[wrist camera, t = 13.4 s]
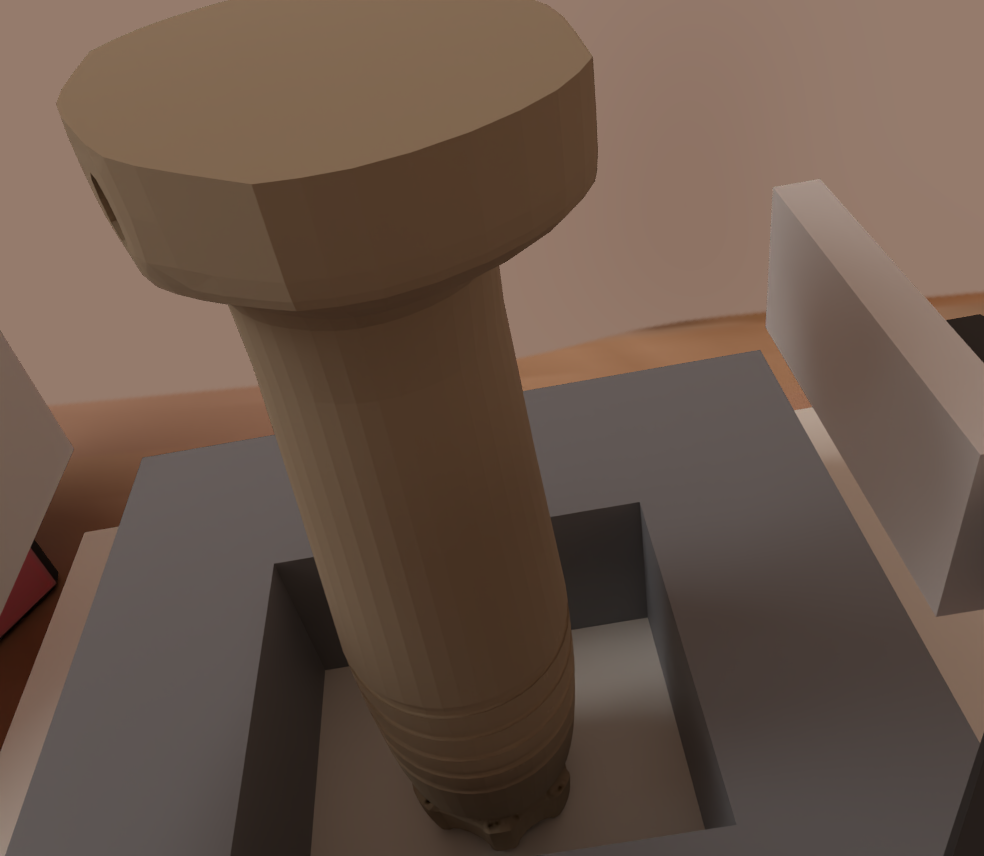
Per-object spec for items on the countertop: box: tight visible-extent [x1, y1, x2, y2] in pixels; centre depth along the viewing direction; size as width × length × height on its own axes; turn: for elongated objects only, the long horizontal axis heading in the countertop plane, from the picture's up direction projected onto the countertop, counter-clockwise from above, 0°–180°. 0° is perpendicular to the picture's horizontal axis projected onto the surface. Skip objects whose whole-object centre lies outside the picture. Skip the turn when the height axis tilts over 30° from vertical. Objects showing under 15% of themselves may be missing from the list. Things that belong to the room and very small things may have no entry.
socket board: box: [0, 350, 984, 856], centre depth 18 cm, size 24×20×6 cm
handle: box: [56, 0, 598, 851], centre depth 14 cm, size 5×6×15 cm
